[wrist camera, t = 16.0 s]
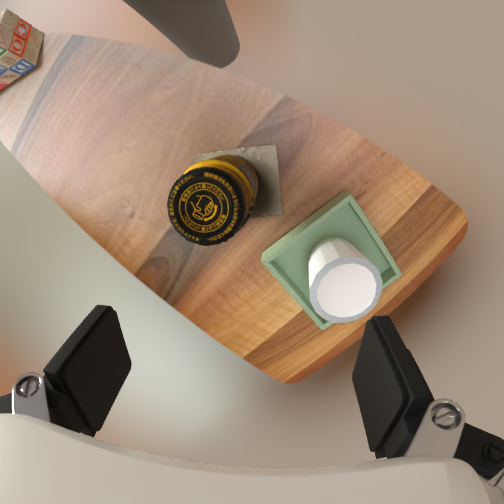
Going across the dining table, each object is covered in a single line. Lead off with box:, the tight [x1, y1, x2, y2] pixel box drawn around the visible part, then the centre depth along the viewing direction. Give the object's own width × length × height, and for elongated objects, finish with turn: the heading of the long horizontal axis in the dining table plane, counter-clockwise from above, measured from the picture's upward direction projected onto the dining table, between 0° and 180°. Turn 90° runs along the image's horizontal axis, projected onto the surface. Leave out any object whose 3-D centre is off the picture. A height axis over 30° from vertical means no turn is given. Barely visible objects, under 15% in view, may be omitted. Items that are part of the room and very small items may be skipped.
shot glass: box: [308, 237, 382, 323], centre depth 28 cm, size 7×7×7 cm
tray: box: [261, 190, 402, 330], centre depth 31 cm, size 11×11×2 cm
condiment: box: [167, 144, 283, 246], centre depth 24 cm, size 7×8×12 cm
